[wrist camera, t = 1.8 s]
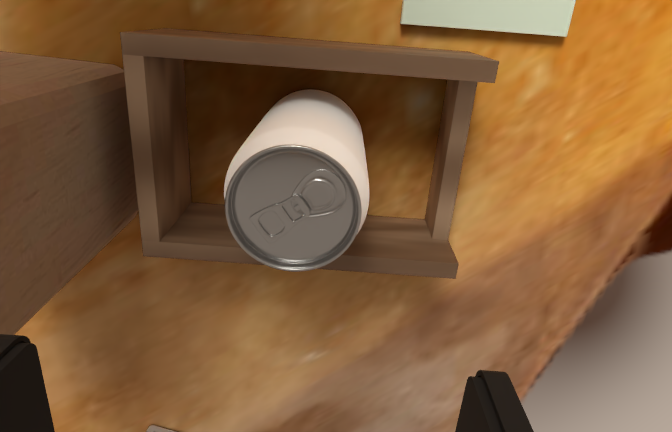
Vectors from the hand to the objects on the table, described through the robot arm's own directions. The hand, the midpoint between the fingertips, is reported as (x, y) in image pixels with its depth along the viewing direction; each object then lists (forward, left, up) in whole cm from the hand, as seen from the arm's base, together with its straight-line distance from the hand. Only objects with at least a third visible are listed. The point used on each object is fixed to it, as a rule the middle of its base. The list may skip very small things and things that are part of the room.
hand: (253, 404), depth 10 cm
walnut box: (0, 0, -22) cm, 22 cm away
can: (0, 0, -22) cm, 22 cm away
